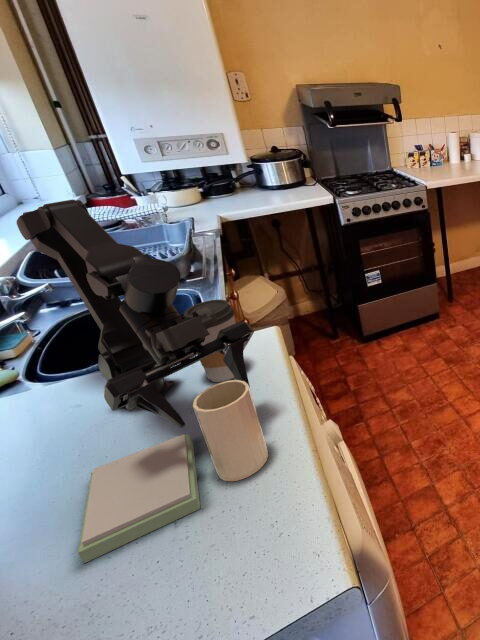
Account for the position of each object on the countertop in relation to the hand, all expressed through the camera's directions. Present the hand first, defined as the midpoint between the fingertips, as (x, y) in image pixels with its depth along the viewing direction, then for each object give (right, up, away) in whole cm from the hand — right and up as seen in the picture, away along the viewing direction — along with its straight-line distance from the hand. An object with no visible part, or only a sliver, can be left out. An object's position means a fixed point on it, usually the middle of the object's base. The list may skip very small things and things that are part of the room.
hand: (217, 406), depth 65 cm
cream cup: (+2, -10, +2) cm, 10 cm away
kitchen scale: (-8, -12, -3) cm, 15 cm away
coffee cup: (-14, -2, +24) cm, 28 cm away
